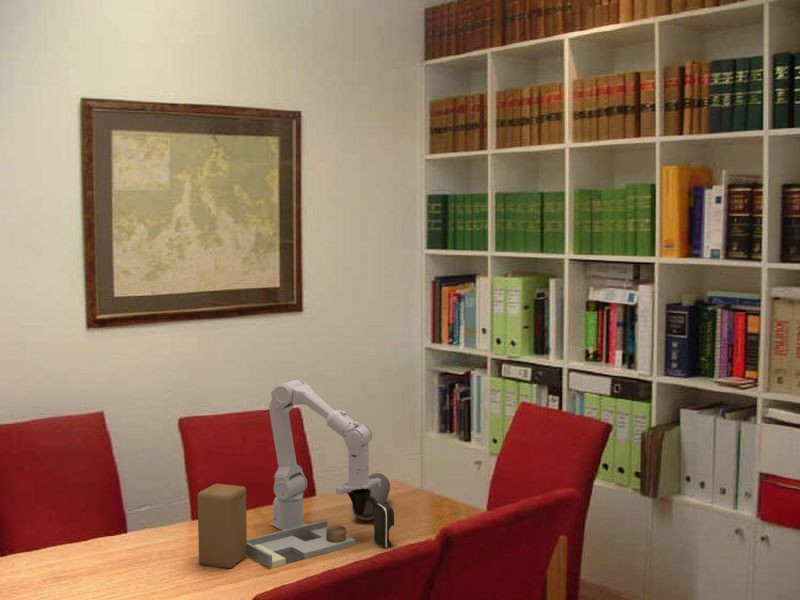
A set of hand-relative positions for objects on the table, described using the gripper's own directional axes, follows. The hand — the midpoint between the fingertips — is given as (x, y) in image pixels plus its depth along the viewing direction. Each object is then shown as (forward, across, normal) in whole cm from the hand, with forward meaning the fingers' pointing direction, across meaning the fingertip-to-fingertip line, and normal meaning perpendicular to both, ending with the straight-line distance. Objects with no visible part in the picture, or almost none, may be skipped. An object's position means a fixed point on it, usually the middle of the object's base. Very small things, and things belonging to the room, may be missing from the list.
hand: (359, 514), depth 284 cm
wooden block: (+7, -39, +9) cm, 41 cm away
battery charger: (+8, +3, -8) cm, 12 cm away
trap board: (+7, -18, +3) cm, 20 cm away
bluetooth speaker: (+8, +17, +17) cm, 25 cm away
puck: (+6, -8, 0) cm, 10 cm away
